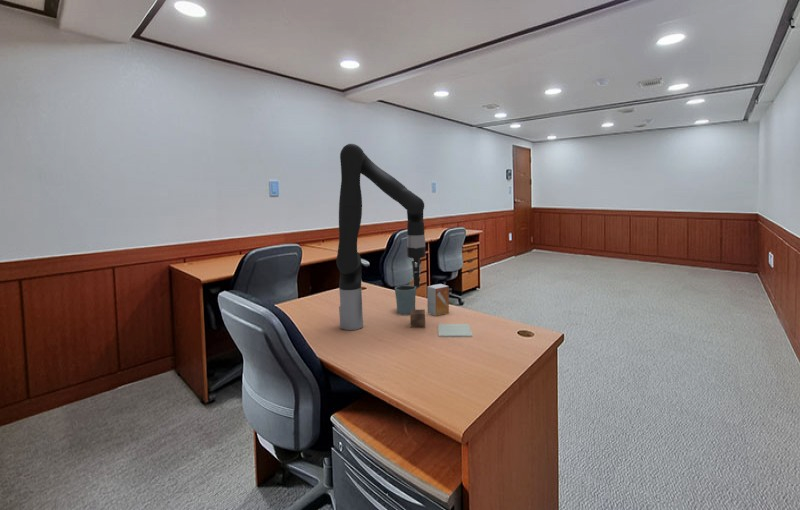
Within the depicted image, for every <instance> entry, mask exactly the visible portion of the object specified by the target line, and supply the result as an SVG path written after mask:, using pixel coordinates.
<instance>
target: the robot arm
mask: <svg viewBox="0 0 800 510" xmlns="http://www.w3.org/2000/svg"><path fill="white" fill-rule="evenodd" d="M339 160H340V161H339V162H340V172H341V173H340V174H341V175H340V176H341V178H340V179H341V182H340V191H339V202H338V236H339V238H338V249H337V255H336V260H335V261H336V267H337V268H338V270H339V281H338V287H339V305H340V306H339V307H338V310H339V328H340V330H344V331H355V330H357V331H358V330H360V329H361V328H363V327H364V317H363V316H364V315H363V295H362V293H363V292H362V291H363V290H362V275H363V273H362V258H361V255H360V253H359V252H358V237H359V233H360V228H361V223H362V216H363V196H362V187H361V175H363V176H365V177H366V178H367V179H368V180H370V181H371V182H372V183H373V184H374V185H376V187H378V188H379V190H381V191H382V192H384V194H386V195H387V196H388V197H390V198H391V199H392V200H393V201H395V202H397V203H398V204H399V205H400V206H401V207H403V209H405V210H406V217H407V218H406V219H407V228H406V229H407V232H406V233H407V237H406V248H407V249H406V251H407V252H406V253H407V255H406V256H407V258H411V259H413V260H412V261H411V271H412V277H413V286H415V287H416V288H417V287H420V281H421V277H420V276H421V274H420V273H421V272H422V271H421V270H422V260H421V259H423V258H425V257H426V237H425V223H424V209H425V202H424V201H423V199H422V198H421V197H419V196H418V195H416V194H415V193H414V192H412V191H411V190H410V189H408V188H407V187H406V186H405V185H404V184H403V183H401V182H400V181H399V180H397V178H395V177H394V176H392V175H391V174H390V173H388V172H387V171H385V170H383V169H382V168H381V167H379V166H378V165H377V164H376V163H374V161H372V160H371V159H370V158H369V157H368V155H367V154H366V153H365V152H364V150H363V149H362V148H361V147H360V146H359V145H357V144H355V143H348V144H346V145H343V147H342V148H341V151H340V154H339Z"/></svg>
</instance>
